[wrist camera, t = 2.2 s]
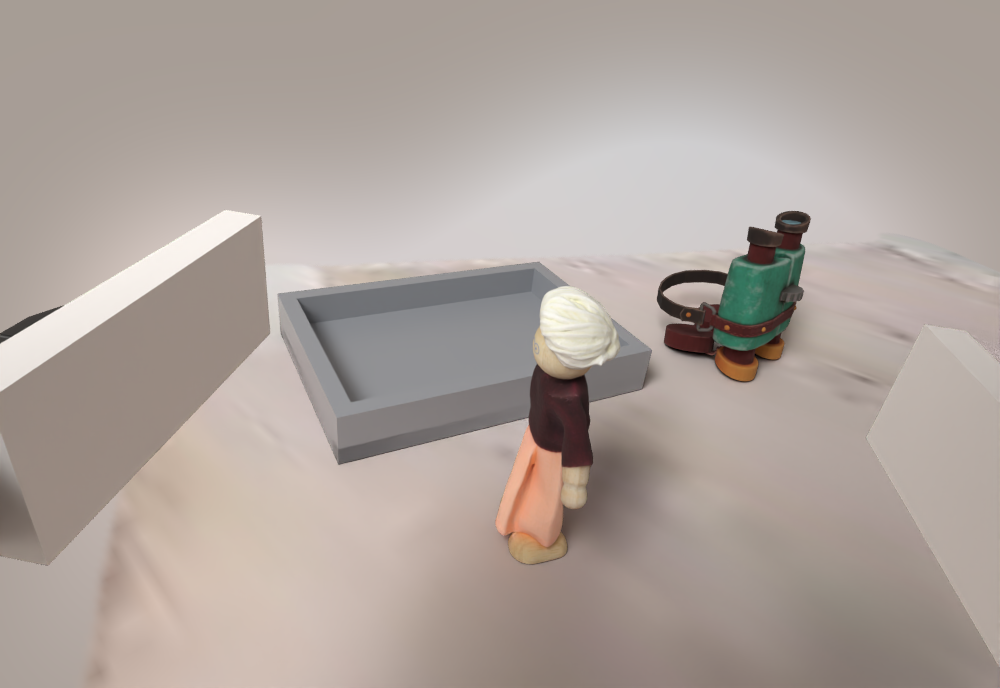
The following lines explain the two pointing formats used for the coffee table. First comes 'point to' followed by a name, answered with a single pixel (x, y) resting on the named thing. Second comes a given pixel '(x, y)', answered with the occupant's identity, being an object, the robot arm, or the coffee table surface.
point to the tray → (430, 355)
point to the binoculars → (744, 300)
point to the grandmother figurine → (556, 425)
